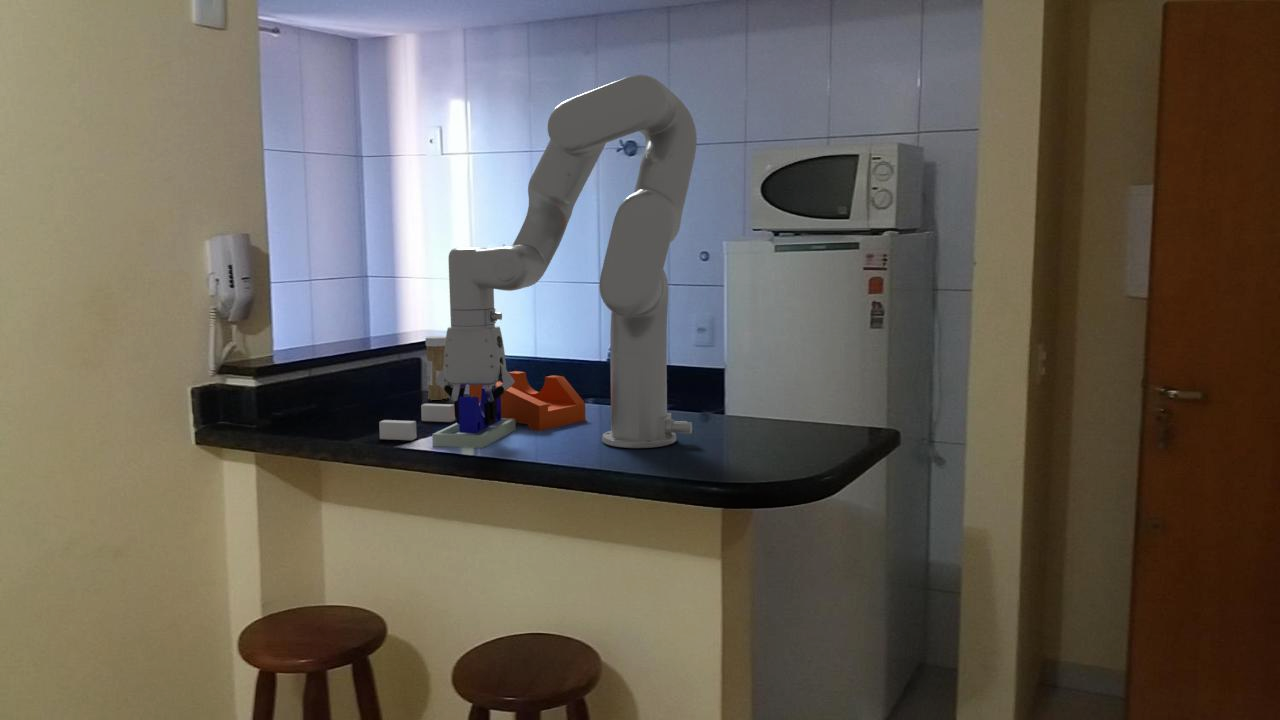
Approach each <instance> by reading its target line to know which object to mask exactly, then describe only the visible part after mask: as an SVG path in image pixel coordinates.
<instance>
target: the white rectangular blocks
mask: <svg viewBox="0 0 1280 720" xmlns="http://www.w3.org/2000/svg"><path fill="white" fill-rule="evenodd" d="M420 409H421V410H420V412H421V413H420V414H421V421H422V422H436V423H437V422H441V423H443V422H444V423H452V422H454V421H456V418H455V408H454V403H453V404H448V403H446V404H445V403H422V404H421V405H420ZM378 423H379V428H378V429H379V440H392V441H397V440H399V441H414V440H415V439H417V420H399V419H398V420H396V419H393V420H392V419H383V420H381V421H379V422H378Z"/></svg>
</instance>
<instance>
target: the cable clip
mask: <svg viewBox="0 0 1280 720" xmlns="http://www.w3.org/2000/svg"><path fill="white" fill-rule="evenodd" d="M458 399H459V429H460V433H478V432H480V431H482V430H483V429H485V428H487V427H489V426H491V425H493V424H495V423H497V422H499V421H501V396H500V397H499V399H497V418H496V419H495V422H494V423H492V424H490V425H486V424H485V409H484V404H485V402H487V397H486V393H485V389H484V387H483V388H482V395H481V403H479V398H478V397H470V396H465V395H464V396H462V397H459V398H458Z"/></svg>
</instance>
